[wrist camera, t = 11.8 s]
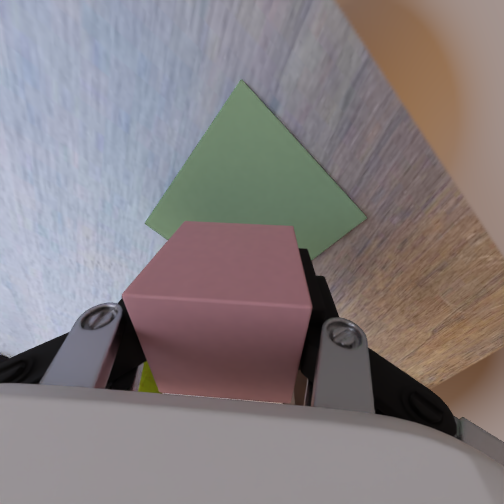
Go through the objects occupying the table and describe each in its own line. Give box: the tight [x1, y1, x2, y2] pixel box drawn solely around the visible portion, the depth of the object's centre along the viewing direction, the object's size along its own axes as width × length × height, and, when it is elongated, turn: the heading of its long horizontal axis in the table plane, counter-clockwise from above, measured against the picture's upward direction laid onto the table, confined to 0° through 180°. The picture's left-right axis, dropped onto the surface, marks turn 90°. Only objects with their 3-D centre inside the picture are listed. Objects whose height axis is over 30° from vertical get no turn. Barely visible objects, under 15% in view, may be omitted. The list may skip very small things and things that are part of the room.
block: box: [122, 221, 313, 403], centre depth 9 cm, size 5×5×5 cm
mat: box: [145, 79, 367, 260], centre depth 16 cm, size 12×12×1 cm
